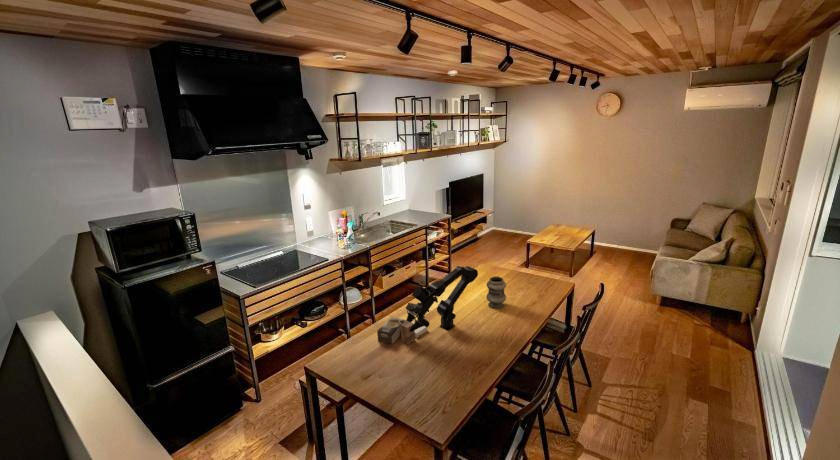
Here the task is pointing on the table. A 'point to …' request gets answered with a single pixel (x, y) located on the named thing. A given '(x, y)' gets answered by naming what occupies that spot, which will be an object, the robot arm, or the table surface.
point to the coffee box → (390, 330)
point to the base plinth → (420, 330)
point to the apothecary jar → (496, 292)
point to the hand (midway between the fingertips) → (407, 328)
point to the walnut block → (407, 332)
